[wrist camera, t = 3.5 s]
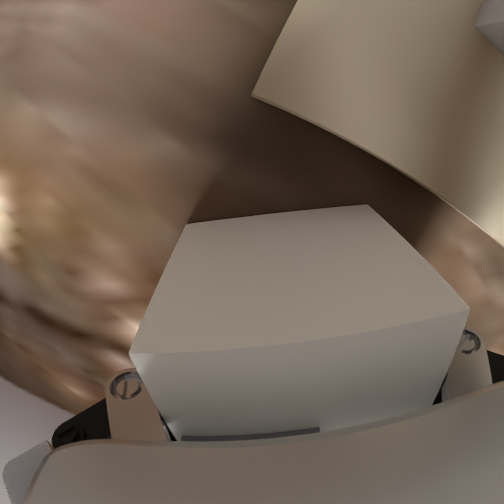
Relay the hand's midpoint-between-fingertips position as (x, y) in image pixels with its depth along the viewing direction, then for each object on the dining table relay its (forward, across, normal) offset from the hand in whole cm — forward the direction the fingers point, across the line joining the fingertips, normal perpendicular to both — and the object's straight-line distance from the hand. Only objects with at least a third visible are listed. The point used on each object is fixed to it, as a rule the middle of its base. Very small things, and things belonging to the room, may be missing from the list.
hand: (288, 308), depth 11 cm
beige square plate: (+1, -9, -10) cm, 13 cm away
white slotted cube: (+1, 0, 0) cm, 1 cm away
